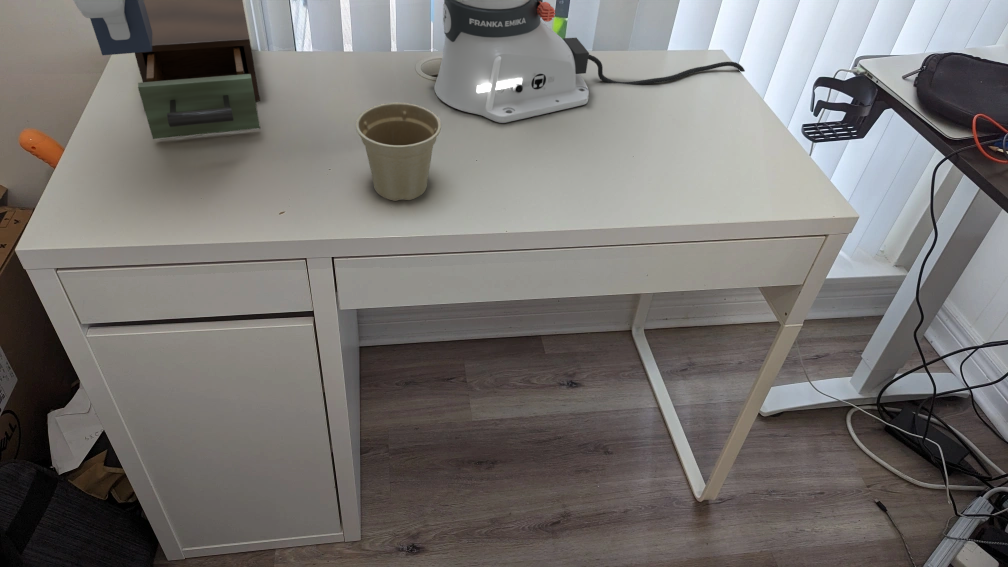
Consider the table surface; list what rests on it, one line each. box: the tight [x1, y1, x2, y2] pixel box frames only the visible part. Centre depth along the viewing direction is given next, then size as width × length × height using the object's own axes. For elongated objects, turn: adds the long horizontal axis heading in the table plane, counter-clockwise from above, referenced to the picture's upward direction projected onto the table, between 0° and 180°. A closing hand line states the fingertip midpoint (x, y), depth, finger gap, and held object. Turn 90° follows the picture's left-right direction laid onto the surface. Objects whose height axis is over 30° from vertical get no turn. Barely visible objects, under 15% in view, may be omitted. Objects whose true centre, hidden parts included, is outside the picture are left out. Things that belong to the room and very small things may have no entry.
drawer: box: [137, 46, 261, 140], centre depth 91 cm, size 20×13×7 cm, turn 19°
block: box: [89, 0, 152, 56], centre depth 75 cm, size 5×5×6 cm
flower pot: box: [355, 102, 442, 202], centre depth 83 cm, size 9×9×9 cm
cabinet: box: [134, 0, 261, 102], centre depth 99 cm, size 16×14×9 cm
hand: (123, 24), depth 76 cm, fingers closed on block, 5 cm apart
